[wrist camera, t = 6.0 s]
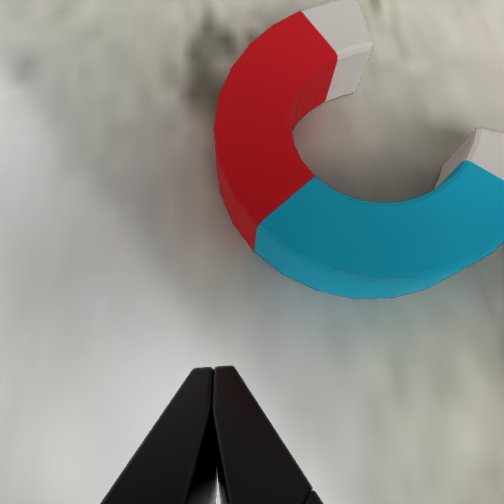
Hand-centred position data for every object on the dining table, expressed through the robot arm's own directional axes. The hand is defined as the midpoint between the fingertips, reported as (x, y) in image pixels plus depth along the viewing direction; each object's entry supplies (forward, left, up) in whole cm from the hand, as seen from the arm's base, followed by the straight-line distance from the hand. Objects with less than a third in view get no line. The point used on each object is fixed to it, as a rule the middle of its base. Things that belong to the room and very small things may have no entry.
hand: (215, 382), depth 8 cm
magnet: (+3, -4, -4) cm, 7 cm away
